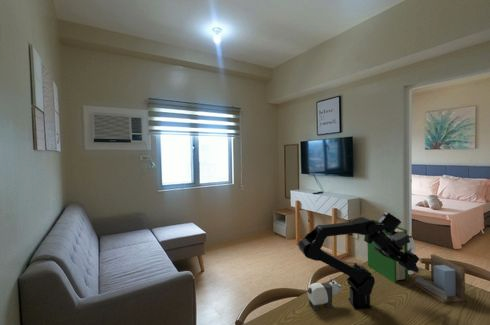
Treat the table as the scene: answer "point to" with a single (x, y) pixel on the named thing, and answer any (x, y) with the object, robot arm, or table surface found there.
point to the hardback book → (387, 262)
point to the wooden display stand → (437, 292)
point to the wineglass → (411, 250)
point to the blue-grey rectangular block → (445, 279)
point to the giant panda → (322, 293)
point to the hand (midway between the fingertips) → (408, 266)
